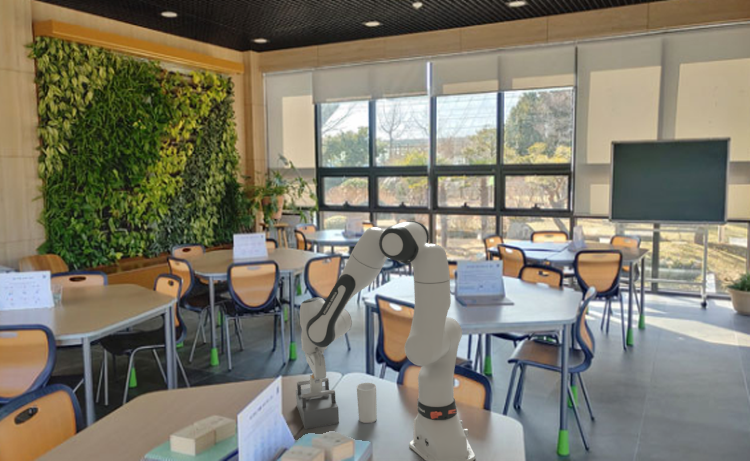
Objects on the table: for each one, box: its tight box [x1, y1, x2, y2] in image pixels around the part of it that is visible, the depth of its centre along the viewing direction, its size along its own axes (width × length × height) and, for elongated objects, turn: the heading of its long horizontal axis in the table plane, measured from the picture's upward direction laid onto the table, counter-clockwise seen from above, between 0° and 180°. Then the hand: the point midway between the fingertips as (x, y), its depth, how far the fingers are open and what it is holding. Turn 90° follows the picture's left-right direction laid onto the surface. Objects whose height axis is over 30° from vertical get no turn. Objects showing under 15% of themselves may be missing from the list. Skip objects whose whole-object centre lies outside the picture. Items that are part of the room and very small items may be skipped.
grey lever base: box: [295, 377, 340, 430], centre depth 203 cm, size 20×12×11 cm, turn 16°
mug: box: [356, 382, 378, 424], centre depth 199 cm, size 10×7×12 cm, turn 169°
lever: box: [309, 373, 323, 398], centre depth 201 cm, size 3×4×11 cm
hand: (316, 382), depth 197 cm, fingers closed, pressing on lever
